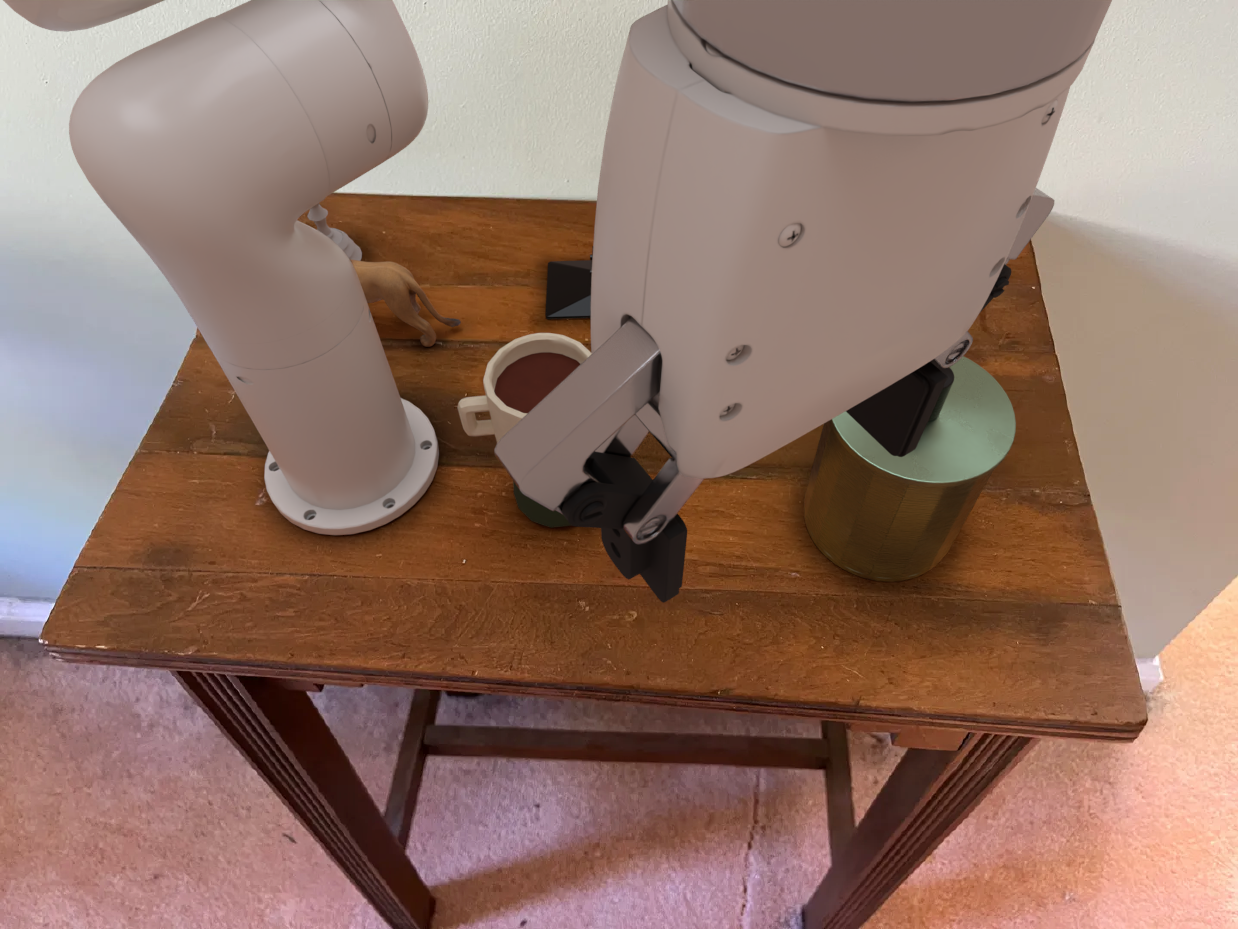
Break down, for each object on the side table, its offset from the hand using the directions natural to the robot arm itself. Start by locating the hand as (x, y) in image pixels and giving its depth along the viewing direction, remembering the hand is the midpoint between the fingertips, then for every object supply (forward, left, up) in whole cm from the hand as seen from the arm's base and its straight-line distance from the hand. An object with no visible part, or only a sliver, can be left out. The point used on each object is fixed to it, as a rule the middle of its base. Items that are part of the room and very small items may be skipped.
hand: (764, 491), depth 29 cm
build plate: (-35, +21, -28) cm, 50 cm away
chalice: (-55, +4, -28) cm, 62 cm away
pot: (-5, +20, -28) cm, 35 cm away
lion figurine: (-45, +2, -28) cm, 53 cm away
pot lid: (-5, +20, -17) cm, 27 cm away
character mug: (-21, +4, -28) cm, 35 cm away
